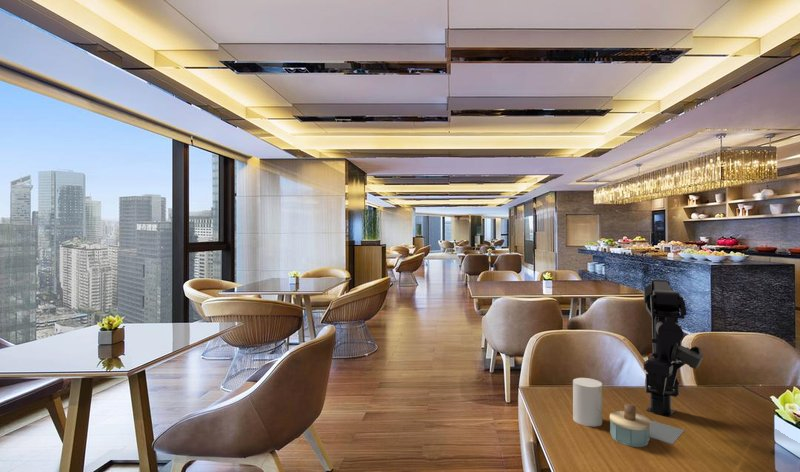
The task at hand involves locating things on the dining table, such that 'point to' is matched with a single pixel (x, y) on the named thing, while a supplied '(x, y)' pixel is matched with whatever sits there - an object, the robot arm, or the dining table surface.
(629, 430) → the grooved blue cylinder
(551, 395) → the dining table surface
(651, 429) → the mat
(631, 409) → the lid
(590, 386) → the white cylinder
